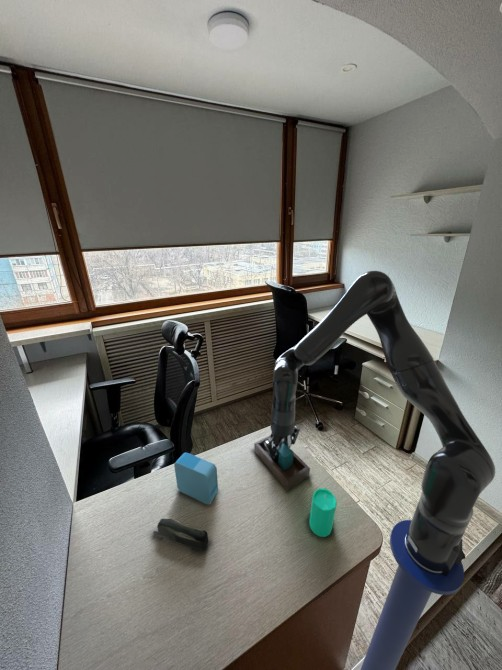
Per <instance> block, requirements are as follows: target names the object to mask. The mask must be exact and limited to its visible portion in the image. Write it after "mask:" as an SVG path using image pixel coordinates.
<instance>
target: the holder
mask: <svg viewBox="0 0 502 670" xmlns="http://www.w3.org/2000/svg"><path fill="white" fill-rule="evenodd" d="M270 436H271V434H270V435H267V436H266V437H263V438H261V439H259V440H258V441H255V442H253V444H254V445H253V446H254V448H253V450H254V453H256V455H257V456H258V457H259V458H260V460H261V461H262V462H263V463H264V465H266V467H267V468H268V469H269V470H270V471H271V473H272V474H273V475H274V477H276V479H277V480H278V481H279V482H280V483H281V484H282V486H283V487H284V489H286V490H287V491H289V490H291V489H292V488H294V487H296V486H297V485H298V484H300V483H302V482H303V481H305V480H306V479H308V478H309V477H310V471H311V468H310V467H309V466H308V465H307V463H306V462H304V461H303V459H301V457H300V456H299V455H297V453H295V452H294V455H293V466H291V467H290V468H288V469H286V470H285V471H283V470H282V469H281V468H280V467H279V466H278V465H277V463H276V462H274V461H273V459H272V458H271V457H270V456H269V453H268V452H267V450H266V448H265V446H264V443H263V441H264V440H265V439H266V440H268V439H270Z"/></svg>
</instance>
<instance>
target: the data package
mask: <svg viewBox="0 0 502 670" xmlns="http://www.w3.org/2000/svg"><path fill="white" fill-rule="evenodd" d="M173 467H174V474H175V481H176V488H177V489H178V490H179V492H181V493H183V494H185V495H186V496H189V497H191V498H193V499H195V500H197V501H198V502H201V503H203V504H205V505H211V503H212V502H213V500H214V498H215V497H216V496H217V494H218V493H219V483H218V482H219V481H218V469H217V466H216V464H214V463H213V462H211V461H208V460H206V459H204V458H201V457H199V456H196V455H194V454H191V453H189V452H183V453H182V454H181V455H180V457H179V458H178V459H177V460H176V461H175V462H174V463H173Z"/></svg>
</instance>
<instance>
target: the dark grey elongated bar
mask: <svg viewBox="0 0 502 670" xmlns="http://www.w3.org/2000/svg"><path fill="white" fill-rule="evenodd" d="M156 528H157V531H156V530H153V532H152V534H153V535H155V536H160V537H163V538H166V539H168V540H170V541H171V542H174V543H178V544H180V545H183V546H185V547H188V548H191V549H195V550H198V551H203V550H204V551H205V549H206V548H207V546H208V545H209V532H208V531H207V530H204V529H200V528H197V527H194V526H191V525H188V524H184V523H182V522H180V521H178V520H176V519H173V518H160V520H159V522H158V523H157V526H156Z"/></svg>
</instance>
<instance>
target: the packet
mask: <svg viewBox="0 0 502 670" xmlns="http://www.w3.org/2000/svg"><path fill="white" fill-rule="evenodd" d="M275 449H276V448H275ZM294 453H295V452H294V451H293V449H291V447H290V448H289V447H288V446H287V445H286V444H285V443H283V444H282V447H281V449H279V453H278V454H279V455H278V462H277V465H278V466H279V467H280V468H281V469H282V470H283V471H285V470H286V469H288V468H290V467H291V466H293V455H294ZM269 456H270V457H271V458H272V456H271V455H270V454H269Z"/></svg>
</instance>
